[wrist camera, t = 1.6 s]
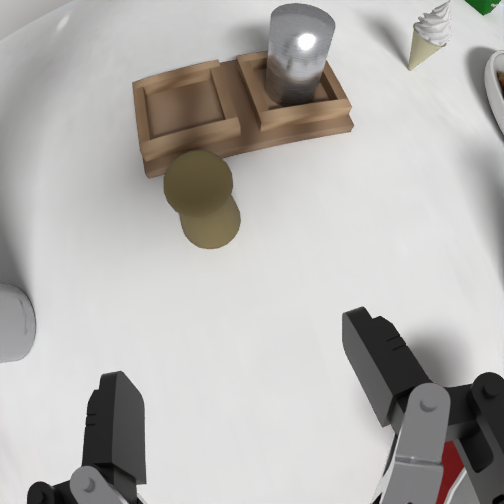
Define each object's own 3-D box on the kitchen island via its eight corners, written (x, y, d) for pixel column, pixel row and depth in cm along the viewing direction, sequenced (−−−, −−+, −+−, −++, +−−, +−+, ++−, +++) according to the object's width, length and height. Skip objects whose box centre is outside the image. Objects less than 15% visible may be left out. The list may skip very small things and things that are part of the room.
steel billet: (274, 112, 34) (283, 41, 23) (259, 75, 35) (262, 6, 24) (323, 104, 34) (346, 37, 23) (305, 68, 35) (320, 2, 24)
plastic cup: (470, 459, 27) (527, 488, 16) (401, 506, 26) (446, 554, 15) (456, 395, 29) (525, 415, 17) (380, 445, 28) (433, 491, 16)
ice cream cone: (396, 76, 37) (437, 1, 23) (392, 53, 38) (427, -18, 24) (426, 86, 37) (472, 18, 23) (421, 63, 38) (461, -3, 24)
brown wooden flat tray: (148, 178, 34) (139, 164, 30) (136, 93, 36) (129, 76, 33) (350, 131, 35) (359, 115, 32) (311, 56, 38) (315, 39, 34)
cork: (176, 200, 33) (147, 150, 22) (232, 185, 34) (226, 128, 23) (188, 256, 32) (160, 225, 21) (247, 240, 32) (247, 202, 22)
